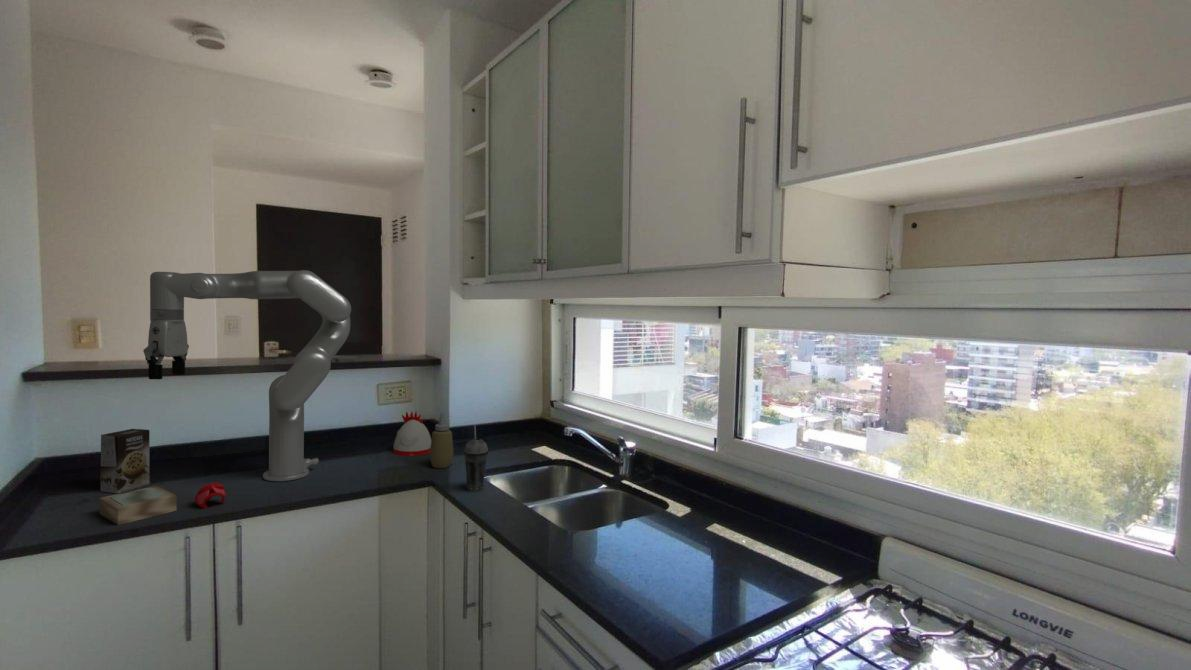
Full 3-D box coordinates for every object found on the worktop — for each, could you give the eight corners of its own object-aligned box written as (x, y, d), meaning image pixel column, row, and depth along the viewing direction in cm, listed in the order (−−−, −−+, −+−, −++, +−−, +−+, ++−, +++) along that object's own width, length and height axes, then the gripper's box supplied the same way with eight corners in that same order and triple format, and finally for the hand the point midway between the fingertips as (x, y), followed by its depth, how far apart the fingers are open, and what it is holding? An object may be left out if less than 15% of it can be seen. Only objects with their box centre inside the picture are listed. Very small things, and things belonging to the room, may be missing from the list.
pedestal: (156, 500, 149) (156, 485, 149) (176, 510, 143) (176, 494, 143) (99, 513, 139) (99, 497, 139) (117, 525, 133) (117, 508, 132)
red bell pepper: (234, 492, 149) (227, 476, 152) (212, 491, 143) (205, 475, 146) (216, 514, 149) (209, 498, 152) (193, 514, 144) (186, 497, 147)
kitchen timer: (398, 446, 214) (399, 407, 213) (435, 446, 215) (435, 408, 215) (389, 455, 200) (389, 414, 199) (428, 456, 202) (429, 415, 201)
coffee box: (118, 494, 153) (117, 436, 152) (99, 491, 154) (99, 434, 153) (150, 483, 162) (150, 429, 161) (133, 481, 163) (132, 427, 162)
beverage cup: (491, 487, 170) (493, 423, 169) (479, 495, 163) (481, 427, 162) (471, 484, 172) (472, 420, 171) (457, 491, 165) (459, 425, 164)
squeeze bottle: (423, 467, 187) (425, 415, 186) (439, 461, 195) (440, 411, 194) (443, 471, 184) (444, 417, 183) (458, 465, 192) (459, 413, 191)
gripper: (160, 317, 147) (161, 381, 148) (200, 315, 164) (200, 373, 165) (130, 316, 146) (130, 380, 147) (173, 315, 163) (173, 372, 164)
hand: (167, 376), depth 156 cm, fingers open, 9 cm apart
